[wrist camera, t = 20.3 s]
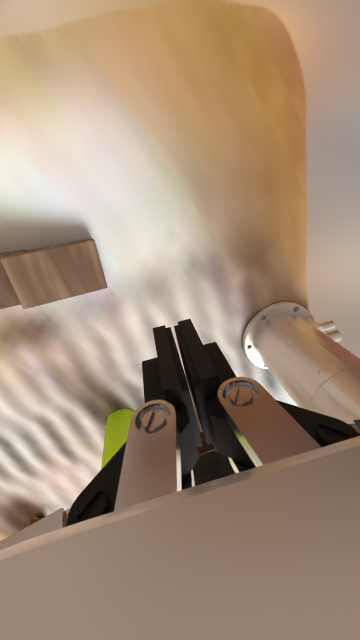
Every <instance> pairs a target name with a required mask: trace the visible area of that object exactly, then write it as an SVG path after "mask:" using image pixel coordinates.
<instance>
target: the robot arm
mask: <svg viewBox="0 0 360 640" xmlns="http://www.w3.org/2000/svg"><path fill="white" fill-rule="evenodd" d="M174 328H175V332H176V336H177V341H178V345H179V349H180V353H181V357H182V361H183V366H184V370H185V373H184V370H183V367H182V364H181V360H180V357H179V354H178V350H177V347H176V344H175V341H174V337H173V334H172V331H171V328H170V327H169V328H165V325H164V326H160V327H156V328H153V333H154V339H155V345H156V351H157V356H158V357H157V358H153V359H150V360H146V361H143V362H142V369H143V384H144V399H145V404H143V405H141V406H140V407H139V408H138V409H137V410H136V411H135V412H134V414H133V415H132V418H131V420H130V425H129V431H128V436H127V441H126V442H125V443H124V444H123V446H122V447H121V448H120V449H119V450H118V451H117V452H116V454H115V455H114V456H113V457H112V458H111V459H110V460H109V462H108V463H107V464H106V465H105V466H104V467H103V468H102V470H101V471H100V472H99V473H98V474H97V475H96V477H95V478H94V479H93V480H92V481H91V482H90V483H89V485H88V486H87V487H86V488H85V489H84V490H83V491H82V493H81V494H80V495H79V496H78V497H77V499H76V500H75V502H74V503H73V504H72V507H71V508H69V509H68V510H66V511H65V510H64V509H63V508H61V509H59V510H57V511H55V512H54V513H52V514H50V515H48V516H46V517H44V518H43V519H41V520H39V521H37V522H35V523H33V524H31V525H30V526H28V527H26V528H24V529H22V530H20V531H19V532H17V533H15V534H13V535H11V536H9V537H7V538H6V539H4V540H2V541H0V640H360V358H358V357H357V356H356V355H354V354H353V353H351V352H350V351H348V350H347V349H346V348H344V347H343V346H341V345H340V344H338V343H337V342H339V341H341V340H342V335H341V333H340V332H339V331H338V330H335V331H331V332H327V333H325V334H324V333H323V331H325V330H326V331H327V330H330V329H334V328H335V323H334V322H333V321H328V322H324V323H321V324H319V323H317V322H315V321H314V319H313V317H312V315H311V314H310V312H309V311H308V310H307V309H306V308H305V307H303V306H301V305H300V304H297V303H294V302H279V303H275V304H272V305H270V306H268V307H266V308H264V309H263V310H261V311H260V312H259V313H257V314H256V315H255V316H254V317H253V319H252V320H251V321H250V322H249V324H248V326H247V327H246V330H245V332H244V335H243V349H244V353H245V354H246V356H247V358H248V359H249V360H250V361H251V362H252V363H253V364H254V365H256V366H258V367H260V368H264V369H269V371H270V372H271V373H272V374H273V376H274V377H275V378H276V379H277V381H278V382H279V383H280V384H281V386H282V387H283V388H284V389H285V391H286V392H287V393H288V394H289V396H290V397H291V398H292V399H293V401H294V402H295V403H296V404H297V405H298V407H297V406H294V405H290V404H287V403H284V402H280V401H277V400H275V399H274V398H273V397H272V396H271V395H270V394H269V393H268V392H267V391H266V390H265V389H264V387H263V386H262V385H261V384H259V383H258V382H257V381H255V380H253V379H251V378H246V377H236V375H235V374H234V372H233V370H232V369H231V367H230V365H229V364H228V362H227V360H226V358H225V357H224V355H223V353H222V352H221V350H220V348H219V347H218V345H217V343H216V342H213V343H209V344H205V345H203V344H202V342H201V340H200V338H199V336H198V334H197V332H196V330H195V328H194V326H193V324H192V322H191V320H190V319H187V320H183V321H179V322H178V325H177V326H174ZM185 374H186V377H185ZM186 378H187V380H186ZM187 381H188V384H187ZM188 385H189V387H188ZM189 388H190V391H191V394H192V397H193V401H194V404H195V407H196V410H197V414H198V417H199V420H200V423H201V427H202V430H203V433H204V436H205V439H206V443H207V444H210V443H213V446H214V449H215V452H219V453H221V454H223V455H225V456H227V457H228V458H229V461H230V464H231V466H232V468H233V469H234V471H235V473H236V474H233V475H229V476H226V477H223V478H220V479H216V480H213V481H210V482H207V483H203V484H200V485H197V486H195V485H194V474H193V470H192V469H193V467H194V466H195V464H196V462H197V461H198V459H199V453H198V450H197V447H200V446H203V445H202V441H201V437H200V433H199V429H198V425H197V420H196V416H195V412H194V408H193V404H192V400H191V395H190V391H189Z"/></svg>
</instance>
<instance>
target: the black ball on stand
mask: <svg viewBox="0 0 360 640" xmlns="http://www.w3.org/2000/svg"><path fill="white" fill-rule="evenodd" d="M200 437H201V441H202V445H203V446H200V447H197V450H198V453H199V459H198V461H197V462H196V464H195V466H194V467H193V469H192V470H193V474H194V485H195V486H197V485H200V484H203V483H207V482H210V481H213V480H216V479H220V478H223V477H226V476H229V475H233V474H236V473H235V471H234V469H233V468H232V466H231V464H230V461H229V458H228V457H227V456H225V455H223V454H221V453H219V452H215V449H214V446H213V443H210V444H207V443H206V439H205V436H204V433H203V432H202V433H200Z"/></svg>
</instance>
